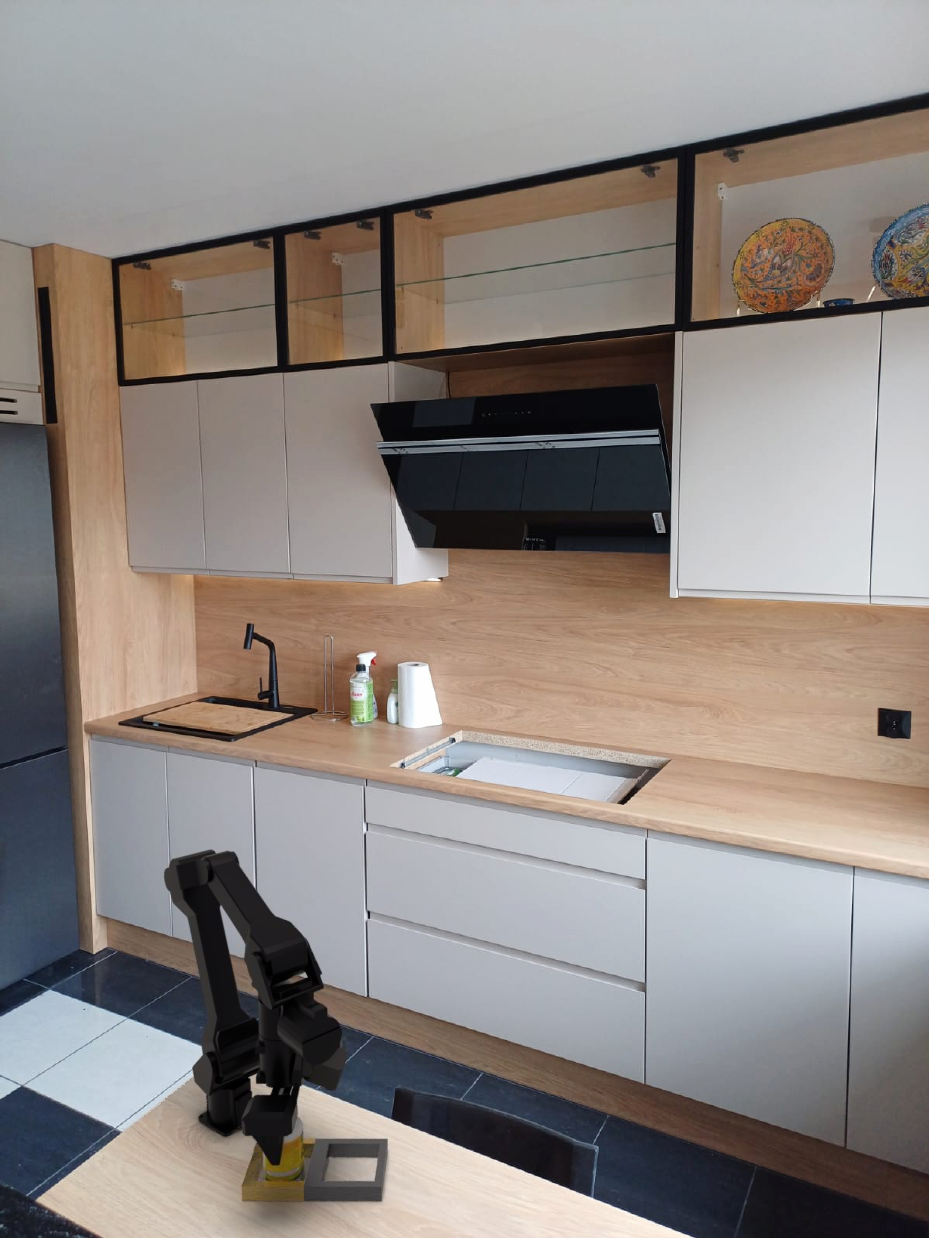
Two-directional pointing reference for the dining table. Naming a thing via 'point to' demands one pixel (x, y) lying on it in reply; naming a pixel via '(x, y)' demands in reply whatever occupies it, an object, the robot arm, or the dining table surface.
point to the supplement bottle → (288, 1158)
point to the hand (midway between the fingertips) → (283, 1139)
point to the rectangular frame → (320, 1174)
